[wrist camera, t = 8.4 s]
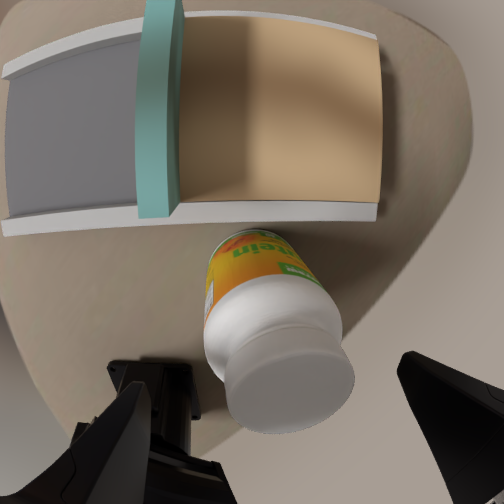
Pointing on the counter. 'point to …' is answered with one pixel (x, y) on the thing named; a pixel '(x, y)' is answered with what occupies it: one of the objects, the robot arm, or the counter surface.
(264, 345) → the supplement bottle
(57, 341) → the counter surface
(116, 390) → the robot arm
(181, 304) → the counter surface
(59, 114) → the track
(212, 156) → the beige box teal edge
